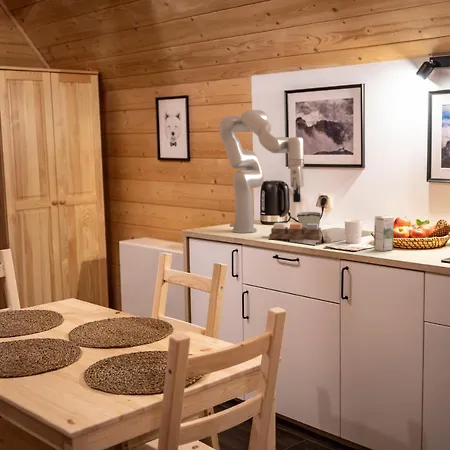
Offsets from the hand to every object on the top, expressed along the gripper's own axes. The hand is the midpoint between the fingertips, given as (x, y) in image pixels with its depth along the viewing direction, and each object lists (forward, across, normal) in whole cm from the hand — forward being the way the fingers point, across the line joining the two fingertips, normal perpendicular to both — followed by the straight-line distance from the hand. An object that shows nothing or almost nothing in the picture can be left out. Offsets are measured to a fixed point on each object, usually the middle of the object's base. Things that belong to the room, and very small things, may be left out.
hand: (296, 201), depth 328 cm
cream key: (+13, +1, +9) cm, 16 cm away
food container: (+17, +21, -2) cm, 27 cm away
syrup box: (+19, -29, -42) cm, 54 cm away
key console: (+17, 0, +1) cm, 17 cm away
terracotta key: (+14, 0, +1) cm, 14 cm away
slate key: (+14, 0, -7) cm, 16 cm away
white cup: (+18, -10, -27) cm, 34 cm away
